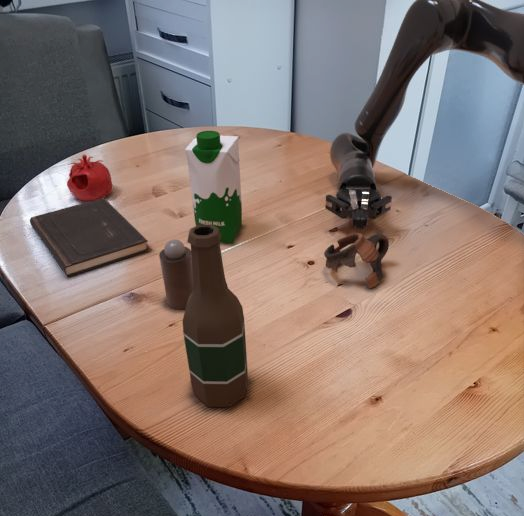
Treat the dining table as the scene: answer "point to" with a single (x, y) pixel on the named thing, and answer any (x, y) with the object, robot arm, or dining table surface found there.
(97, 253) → the hardcover book
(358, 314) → the dining table surface
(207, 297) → the beer bottle
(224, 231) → the milk carton
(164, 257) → the roll-on deodorant
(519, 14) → the robot arm
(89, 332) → the dining table surface
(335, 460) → the dining table surface
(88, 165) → the pomegranate
